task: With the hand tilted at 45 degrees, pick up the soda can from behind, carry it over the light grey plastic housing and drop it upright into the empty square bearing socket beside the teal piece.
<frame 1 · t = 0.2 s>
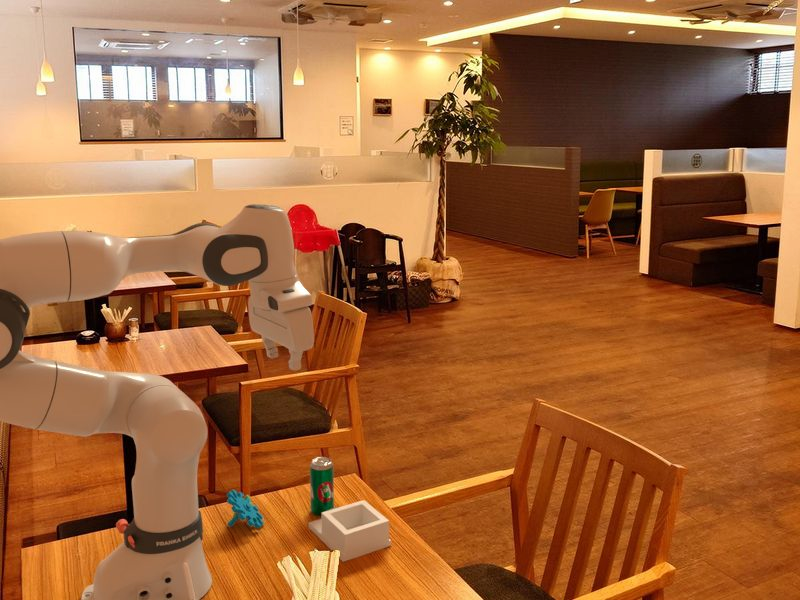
hand: (283, 362, 144), 39 cm above the table, tool pointing down, fingers open, 8 cm apart
soda can: (322, 512, 168), on the table
housing: (349, 536, 158), on the table
teal piece: (246, 524, 163), on the table
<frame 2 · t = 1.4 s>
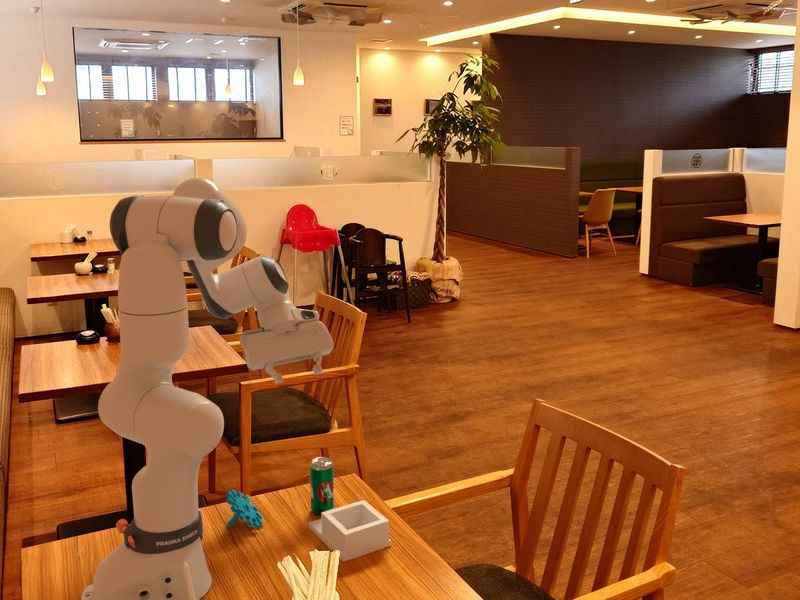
hand: (299, 377, 171), 27 cm above the table, tool tilted 45°, fingers open, 8 cm apart
nothing on the table moved.
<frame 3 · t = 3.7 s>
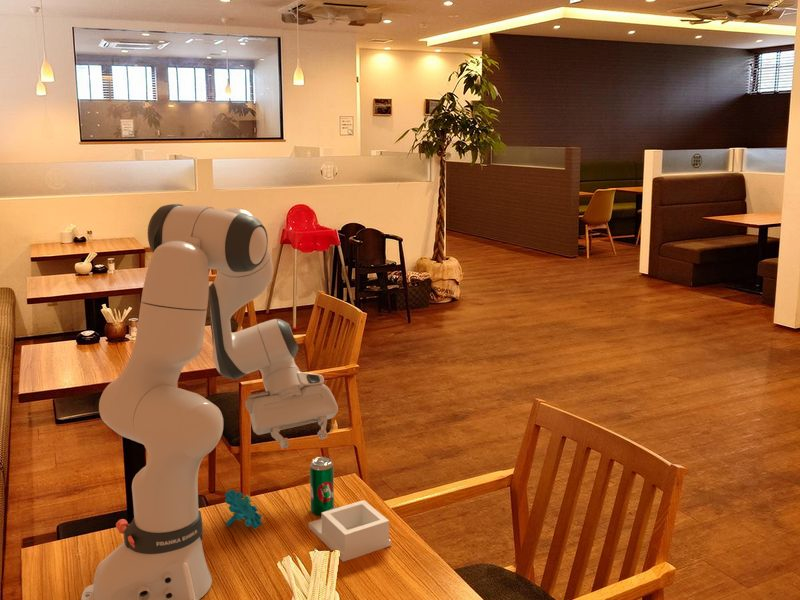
hand: (305, 442, 171), 13 cm above the table, tool tilted 45°, fingers open, 8 cm apart
nothing on the table moved.
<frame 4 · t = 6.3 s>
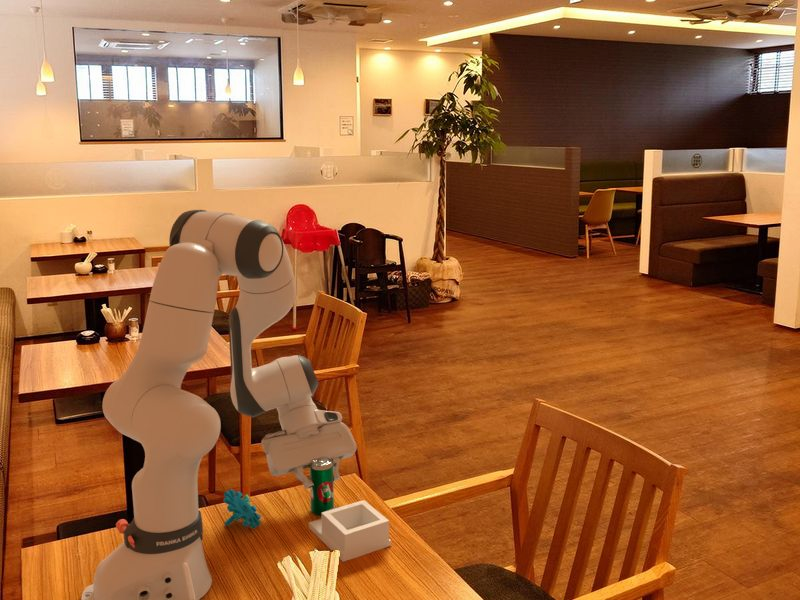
hand: (323, 483, 166), 7 cm above the table, tool tilted 45°, fingers closed on soda can, 5 cm apart
soda can: (322, 512, 168), on the table, touching gripper
everything else where it was.
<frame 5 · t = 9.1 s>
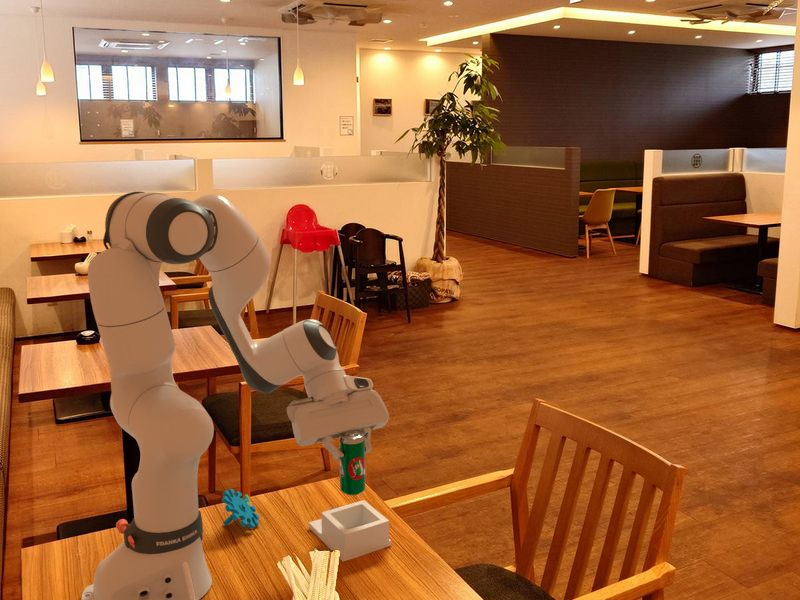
hand: (354, 455, 152), 19 cm above the table, tool tilted 45°, fingers closed on soda can, 5 cm apart
soda can: (352, 491, 154), point 11 cm above the table, touching gripper
everything else where it was.
when the fingers open (10 cm above the table, at t = 11.9 s): soda can stays where it is, resting on housing.
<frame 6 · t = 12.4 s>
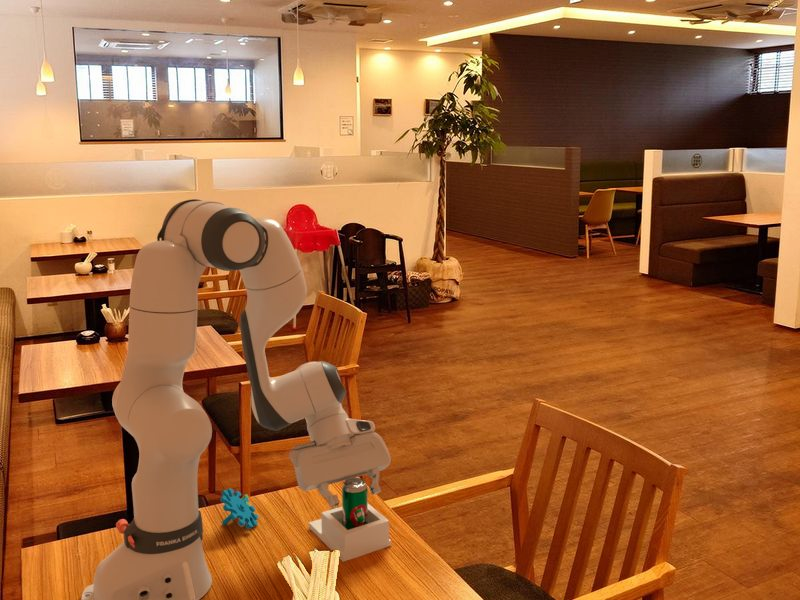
hand: (356, 499, 153), 10 cm above the table, tool tilted 45°, fingers open, 8 cm apart
soda can: (355, 537, 156), point 1 cm above the table, touching housing
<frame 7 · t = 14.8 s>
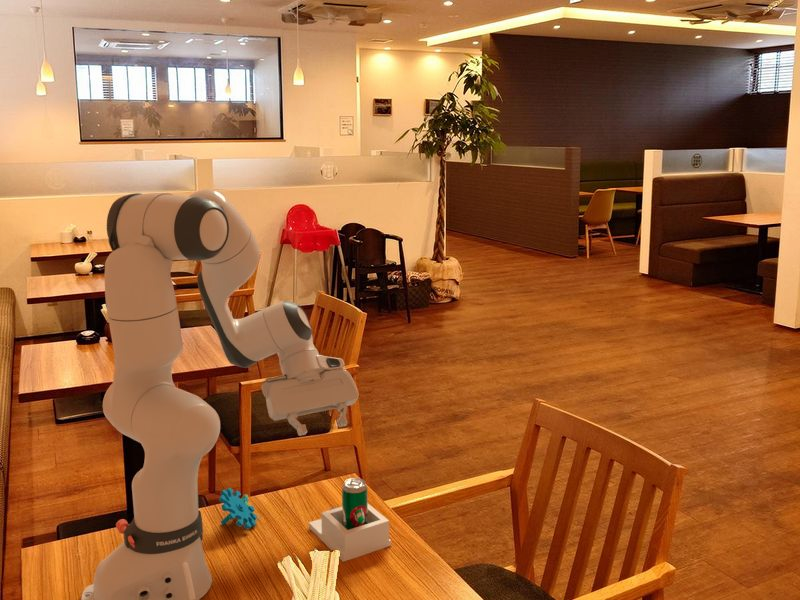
hand: (323, 429, 162), 20 cm above the table, tool tilted 45°, fingers open, 8 cm apart
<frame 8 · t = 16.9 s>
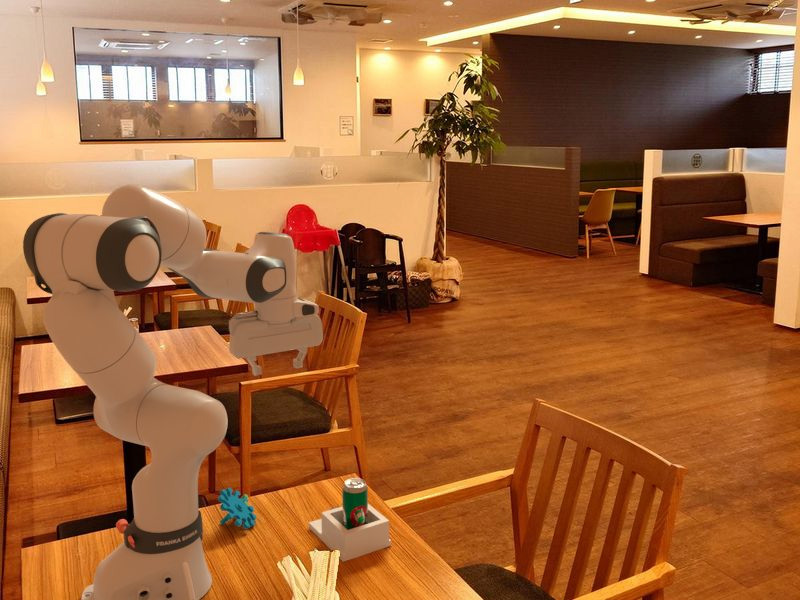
hand: (277, 371, 164), 31 cm above the table, tool pointing down, fingers open, 8 cm apart
at the end: soda can 0.1 cm from the target spot on the housing, point 1.0 cm above the housing's base; soda can tilted 0°; the gripper is holding nothing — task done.
